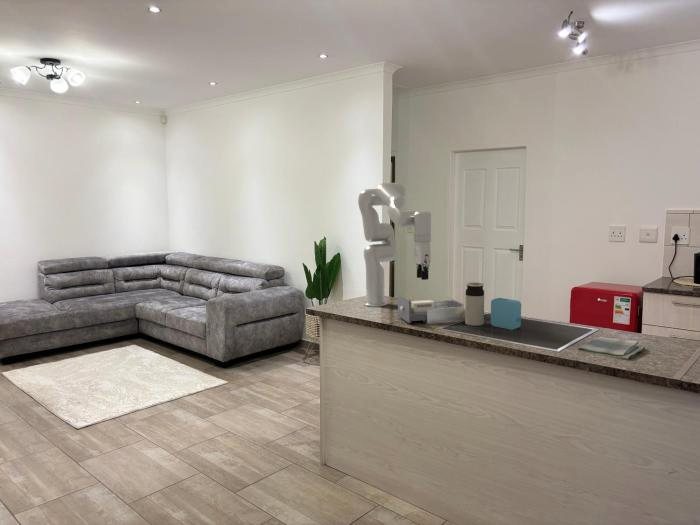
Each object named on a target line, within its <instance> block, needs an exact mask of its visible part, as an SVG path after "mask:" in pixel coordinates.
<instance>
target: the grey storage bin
mask: <svg viewBox="0 0 700 525" xmlns="http://www.w3.org/2000/svg"><path fill="white" fill-rule="evenodd" d="M434 302H435V308H437V309H426V320H422V322H423V323H425V325H426V324H427V325H432V324H434V325H435V324H446V323H457V322H465V320H464V319H465V316H464V315H465V312H464V310H465V309H464V308H465V307H464V305H465V304H464V303H463V302H461V301H458V300H456V299H454V298H451V297H449V296H448V297H447V298H446V300H434Z"/></svg>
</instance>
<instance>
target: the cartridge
mask: <svg viewBox="0 0 700 525" xmlns="http://www.w3.org/2000/svg"><path fill="white" fill-rule="evenodd" d="M434 301H435V300H434ZM434 301H433V300H431V299H428V300H427V299H423V300H411V313H421V312H426V309H435V302H434Z"/></svg>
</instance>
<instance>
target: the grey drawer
mask: <svg viewBox="0 0 700 525" xmlns="http://www.w3.org/2000/svg"><path fill="white" fill-rule="evenodd" d="M411 301H412V300H411V299H409V298H407V297H405V296H403V295H402V294H397V317H399V318H400V319H402V320H404V321H405V322H407V323H408V324H411V323H412V322H419V321H421V320H426V312H421V313H411ZM435 309H437V308H435Z"/></svg>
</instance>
